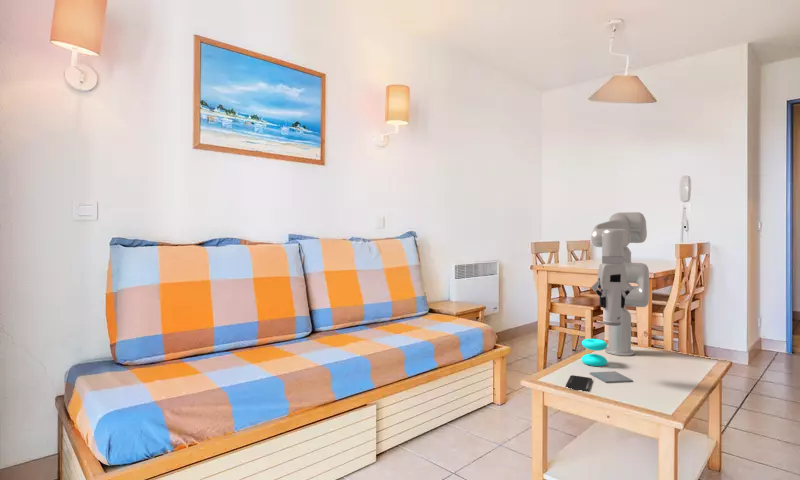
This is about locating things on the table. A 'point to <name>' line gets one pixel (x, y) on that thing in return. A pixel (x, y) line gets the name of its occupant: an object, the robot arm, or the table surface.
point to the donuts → (594, 358)
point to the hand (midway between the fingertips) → (612, 306)
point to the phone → (579, 383)
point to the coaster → (611, 377)
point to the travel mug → (613, 302)
